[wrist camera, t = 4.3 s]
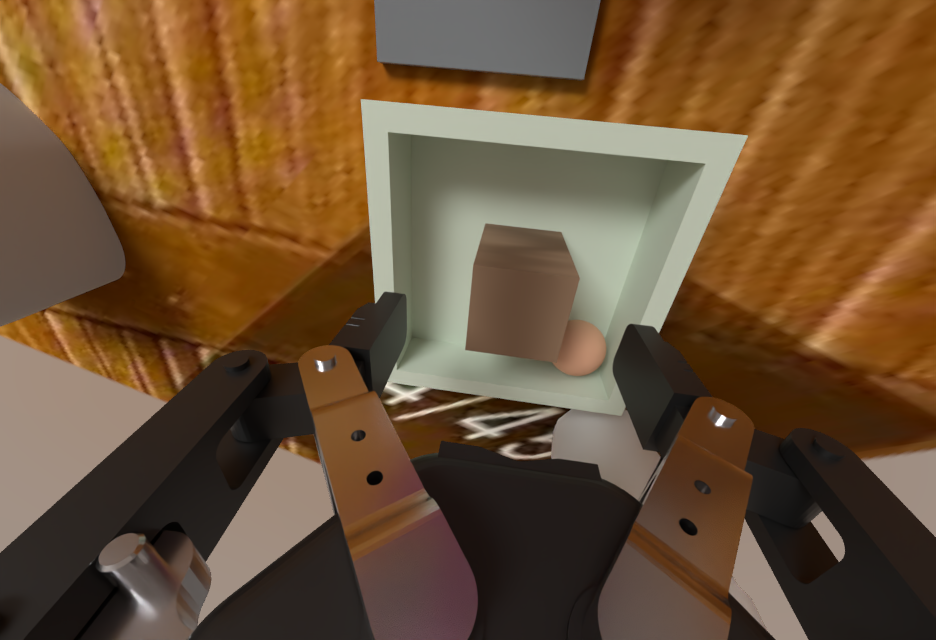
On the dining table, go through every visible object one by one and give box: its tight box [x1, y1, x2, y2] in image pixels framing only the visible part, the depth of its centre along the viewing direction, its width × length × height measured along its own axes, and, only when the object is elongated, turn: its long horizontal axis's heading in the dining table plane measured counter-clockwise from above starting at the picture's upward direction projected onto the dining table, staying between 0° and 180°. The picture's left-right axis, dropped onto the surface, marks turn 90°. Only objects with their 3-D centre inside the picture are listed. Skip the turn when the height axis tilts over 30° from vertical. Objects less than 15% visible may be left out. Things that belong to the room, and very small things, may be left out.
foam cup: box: [551, 409, 768, 632], centre depth 20 cm, size 10×9×13 cm
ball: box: [552, 320, 606, 376], centre depth 19 cm, size 3×3×3 cm
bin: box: [361, 99, 748, 416], centre depth 18 cm, size 14×14×4 cm
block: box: [465, 223, 580, 363], centre depth 16 cm, size 4×4×6 cm
